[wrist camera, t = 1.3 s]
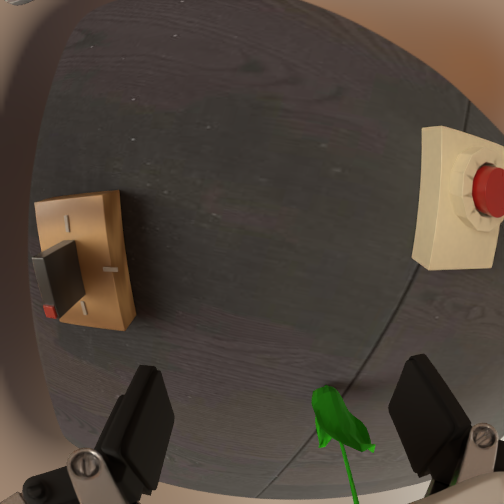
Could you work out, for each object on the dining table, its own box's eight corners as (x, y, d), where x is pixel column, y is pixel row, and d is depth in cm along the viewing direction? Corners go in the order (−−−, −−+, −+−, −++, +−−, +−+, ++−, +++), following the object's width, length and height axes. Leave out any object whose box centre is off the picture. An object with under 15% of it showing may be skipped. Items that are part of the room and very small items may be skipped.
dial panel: (49, 197, 22) (29, 203, 19) (125, 189, 22) (108, 194, 19) (70, 307, 26) (54, 322, 23) (142, 315, 26) (130, 333, 23)
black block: (63, 240, 20) (29, 258, 16) (75, 239, 20) (41, 258, 16) (74, 293, 22) (45, 319, 17) (86, 294, 22) (58, 321, 17)
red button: (472, 161, 16) (486, 163, 14) (500, 169, 16) (513, 172, 14) (469, 211, 17) (482, 216, 16) (496, 214, 17) (509, 219, 15)
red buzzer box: (421, 127, 20) (454, 124, 15) (485, 145, 19) (518, 148, 15) (411, 257, 23) (439, 279, 19) (473, 257, 23) (502, 274, 18)
